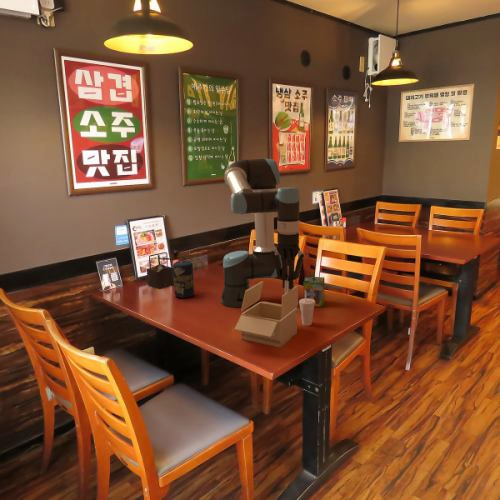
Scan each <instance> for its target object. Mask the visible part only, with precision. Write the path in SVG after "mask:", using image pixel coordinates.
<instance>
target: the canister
mask: <svg viewBox="0 0 500 500" xmlns="http://www.w3.org/2000/svg"><path fill="white" fill-rule="evenodd" d="M172 268H173V275H174V284H173V286H174V287H173V288H174V295H175V297H177V298H180V299H181V298H182V299H184V298H190V297H192V296H194V295H195V281H194V266H193V262H192V261H190V260H178V261H175V262H173V264H172Z"/></svg>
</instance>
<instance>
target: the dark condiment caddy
mask: <svg viewBox="0 0 500 500" xmlns="http://www.w3.org/2000/svg"><path fill="white" fill-rule="evenodd" d="M171 253H172V257H171V258H170V257H161V255H160V254H157V261H158V264H156V265H154V266H152V267H149V268H146V278H147V286H148V285H149V286H148V287H151V286H152V288H155V289H157V288H158V289H157V290H161V289H164V288H167V287H170V286H174V275H173V266H168V265H165V264H162V263H161V260H162V261H163V260H166V261H167V260H168V261H173V260H174V261H175V260H178V259H179V258H178V257H179V255H180V251H179V250H173V251H172V252H171Z"/></svg>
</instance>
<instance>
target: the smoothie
mask: <svg viewBox="0 0 500 500" xmlns="http://www.w3.org/2000/svg"><path fill="white" fill-rule="evenodd" d="M298 305H299V307H300V308H299V310H300V311H301V312H300V313H301V314H300V315H301V322H302V325H303V326H312V325H313V324H312V323H313V317H314V309H315V307H314V305H315V300H313V299H308V298H306V290H305V299H304V298H301V299H298Z"/></svg>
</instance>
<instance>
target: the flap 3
mask: <svg viewBox="0 0 500 500" xmlns="http://www.w3.org/2000/svg"><path fill="white" fill-rule="evenodd" d="M261 302H262V303H268V304H274V305H280V306H282V303H281V304H280V303H276V302H275V303H274V302H269V301H261ZM296 308H297V313H301V309H300V308H298V306H297V307H296Z"/></svg>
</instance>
